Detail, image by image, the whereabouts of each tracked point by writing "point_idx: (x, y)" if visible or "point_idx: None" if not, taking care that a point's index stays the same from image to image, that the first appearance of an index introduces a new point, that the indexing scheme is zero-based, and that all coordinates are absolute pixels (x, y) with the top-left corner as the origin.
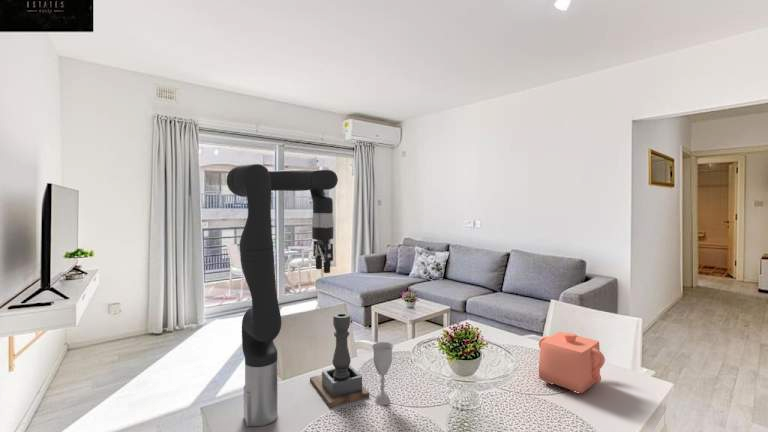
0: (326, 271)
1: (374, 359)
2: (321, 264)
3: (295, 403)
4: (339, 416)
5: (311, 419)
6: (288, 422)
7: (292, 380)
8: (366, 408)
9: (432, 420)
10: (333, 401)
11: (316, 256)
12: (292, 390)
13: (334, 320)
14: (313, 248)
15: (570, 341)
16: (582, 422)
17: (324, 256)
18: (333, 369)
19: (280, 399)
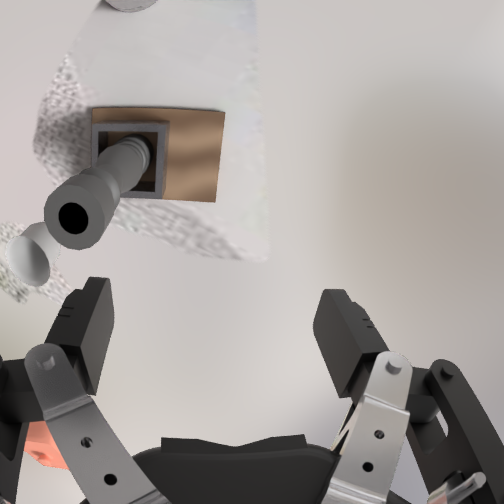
0: (75, 296)
1: (35, 226)
2: (325, 353)
3: (147, 52)
4: (60, 115)
5: (77, 65)
6: (92, 26)
7: (254, 81)
8: (62, 170)
9: (4, 244)
10: (93, 117)
11: (366, 382)
12: (206, 63)
13: (71, 180)
14: (491, 425)
15: (41, 454)
16: None
17: (42, 410)
18: (158, 153)
19: (182, 30)
